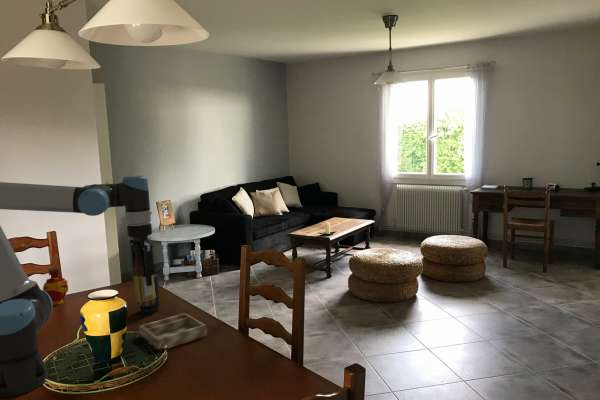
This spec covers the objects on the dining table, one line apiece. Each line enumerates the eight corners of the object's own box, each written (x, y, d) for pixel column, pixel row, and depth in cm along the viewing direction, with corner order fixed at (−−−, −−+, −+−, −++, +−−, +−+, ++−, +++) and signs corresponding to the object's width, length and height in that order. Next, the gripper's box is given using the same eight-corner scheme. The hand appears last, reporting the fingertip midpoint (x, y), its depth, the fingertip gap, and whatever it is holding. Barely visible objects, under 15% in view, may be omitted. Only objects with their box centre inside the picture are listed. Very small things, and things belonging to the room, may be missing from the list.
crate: (158, 351, 154) (157, 339, 153) (139, 336, 166) (139, 325, 166) (207, 335, 165) (206, 325, 165) (186, 322, 178) (185, 312, 177)
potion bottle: (38, 307, 198) (35, 272, 196) (52, 298, 208) (49, 266, 206) (62, 306, 198) (59, 272, 196) (75, 298, 208) (72, 265, 206)
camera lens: (149, 315, 186) (147, 279, 184) (135, 312, 190) (132, 276, 188) (164, 309, 192) (162, 274, 190) (150, 306, 196) (148, 271, 195)
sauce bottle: (159, 300, 157) (154, 242, 154) (151, 307, 151) (146, 247, 148) (140, 300, 157) (136, 243, 155) (132, 307, 151) (126, 247, 149)
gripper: (162, 225, 145) (167, 296, 148) (139, 218, 160) (145, 283, 163) (138, 229, 141) (144, 302, 144) (117, 221, 155) (123, 288, 159)
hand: (145, 292), depth 153 cm, fingers closed on sauce bottle, 6 cm apart
